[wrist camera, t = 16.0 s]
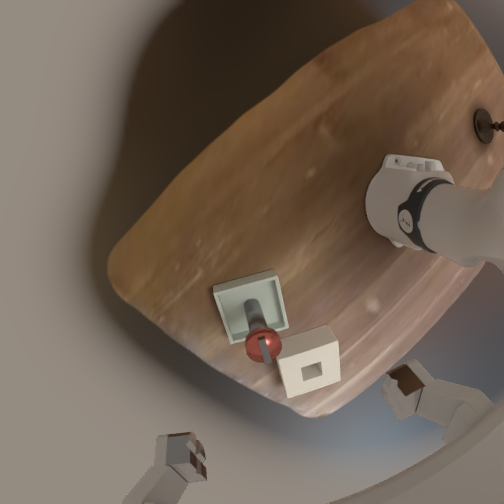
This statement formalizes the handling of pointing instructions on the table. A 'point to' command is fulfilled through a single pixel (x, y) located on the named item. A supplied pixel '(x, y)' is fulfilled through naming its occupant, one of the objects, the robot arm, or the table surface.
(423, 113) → the table surface
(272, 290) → the tray
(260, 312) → the red disc rod
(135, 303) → the table surface
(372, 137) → the table surface
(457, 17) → the table surface
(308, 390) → the block
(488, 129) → the candlestick
